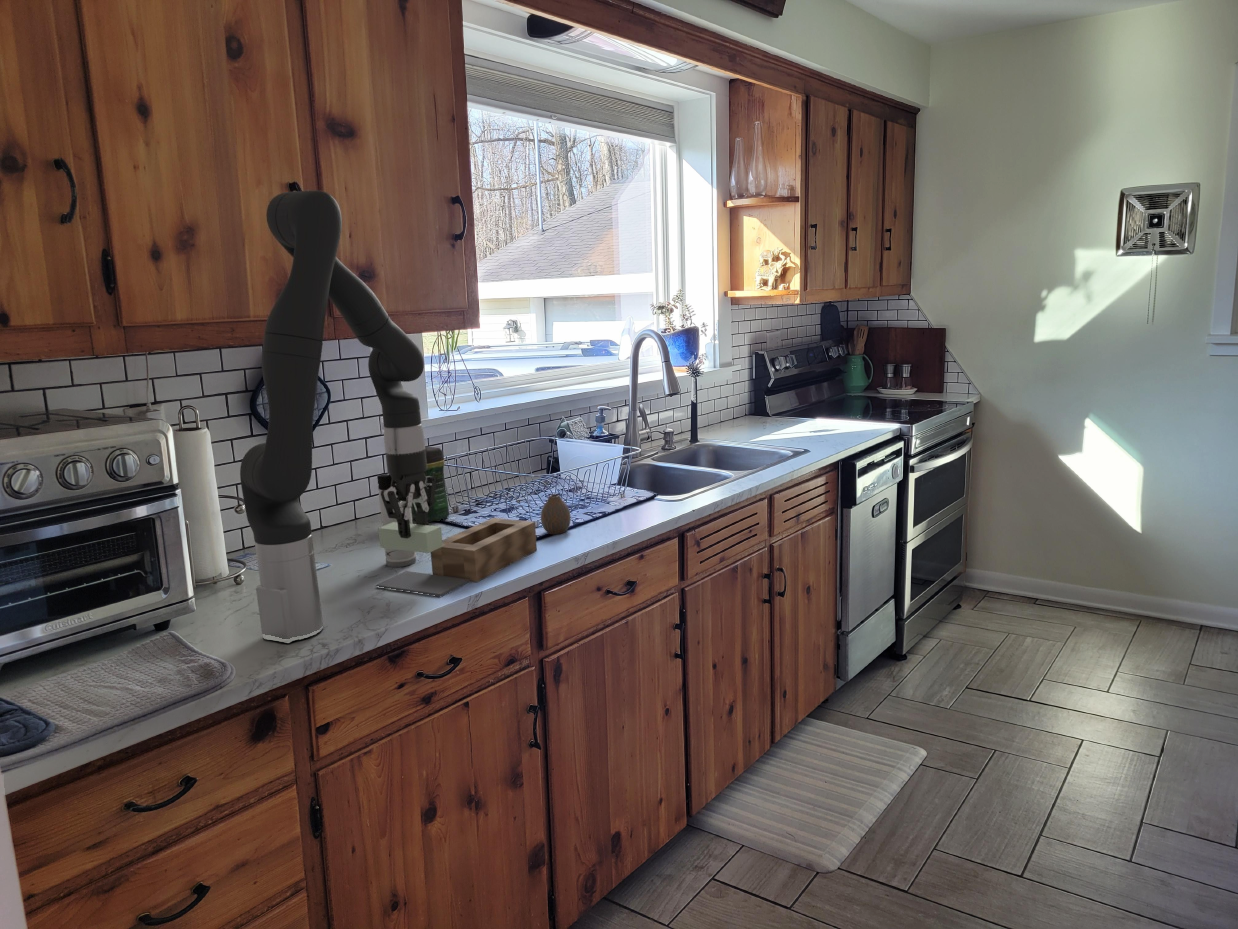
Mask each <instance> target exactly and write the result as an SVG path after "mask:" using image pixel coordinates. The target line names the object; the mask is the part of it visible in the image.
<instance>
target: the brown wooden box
mask: <svg viewBox="0 0 1238 929" xmlns="http://www.w3.org/2000/svg"><path fill="white" fill-rule="evenodd" d="M536 530H537V529H536V521H531V520H520V519H519V520H518V519H508V518H507V519H506V518H498V517H492V518H489V519H488V520H485V521H483V522H481V523H478V524H476V525H474V526H471V527H469V528H467V529H465V530H462V531H459V532H457V533H455V534H452V535H451V536H448V537H446V538H444V539H442V542H443V547H441V548H438V549H436V550H434V551H432V552H430V559H431V562H430V563H431V571H432V573H431V574H433V575H440V576H448V577H455V578H463V579H469V582H474V583H478V582H481V581H482V580H485V579H486V578H488V577H489V576H491V575H493V574H496V573H497V572H499V571H501V570H503V569H505V568H507V567H509V566H510V565H512V564H515V563H516V562H518V561H520V560H522V559H524V558H525V557H528V556H530V555H531V554H533V553H535V552H537V551H538V548H537V547H538V546H537V532H536Z"/></svg>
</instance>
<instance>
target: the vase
mask: <svg viewBox="0 0 1238 929" xmlns="http://www.w3.org/2000/svg"><path fill="white" fill-rule="evenodd" d="M540 523H541V525H542V528H543V530H544V531H545V532H546V533H547V534H549V535H561V534H564V533H566V532H567V531H568V530H569V528H570V524H571V512H570V509H569V506H568V504H566V503H565V501H564V500H563V499H562V498H561V496H560V494H550V495H549V496H548V498H547V500H546V502H545V503H544V504H543V507H542V509H541V512H540Z"/></svg>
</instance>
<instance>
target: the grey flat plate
mask: <svg viewBox="0 0 1238 929" xmlns="http://www.w3.org/2000/svg"><path fill="white" fill-rule="evenodd" d="M468 583H470V581H469V579H463V578H455V577H448V576H440V575H433V573H424V572H415V571H411V570H410V571H409V570H405V571H403V572H401V573H399V574H397V575H394V576H391V577H390V578H388V579H385V580H383V581H382V582H379V583H377V584H375V587H376V586H379V587H384V588H391V589H396V590H403V591H410V592H418V593H423V594H429V595H435V596H434V597H436V596H442V595H444V594H446V595H448V594H449V592H450V593H451V592H453V591H456V590H458V589H459V588H461V587H463V586H465V585H466V584H467V585H468ZM447 593H448V594H447ZM423 594H422V595H423ZM429 595H428V596H429ZM444 596H445V595H444ZM442 597H443V596H442Z"/></svg>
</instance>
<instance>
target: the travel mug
mask: <svg viewBox="0 0 1238 929" xmlns="http://www.w3.org/2000/svg"><path fill="white" fill-rule="evenodd" d="M376 477H377V478H376V479H377V485H378V486H377V487H378V490H377V491H378V499H379V506H380V507H379V508H380V517H381V518H380V519H381V527H382V526H385V525H387V524H390V523H392V522H397V520H396V519H393V518H389V517H388V514H387V511H386V509H385V506H384V503H383V500H382V497H381V491H382V490H388V489H389V488H390V487H391V482H392V477H391V476H390V474H388V473H386V474H385V473H384V474H379V475H377V476H376ZM405 502H406V501H401V503H405ZM393 512H394V510H393ZM401 513H403V507H402V509H401ZM408 519H409V522H410V524H414V523H413V519H412V513H411V508H410V509H409V518H408ZM384 553H385V562H386V563H385V564H386V565H387V566H389V567H392V568H400V567H408V566H412V565H413V564H415V563H416V561H417V555H416V552H414V551H406V550H397V549H389V548H384Z"/></svg>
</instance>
